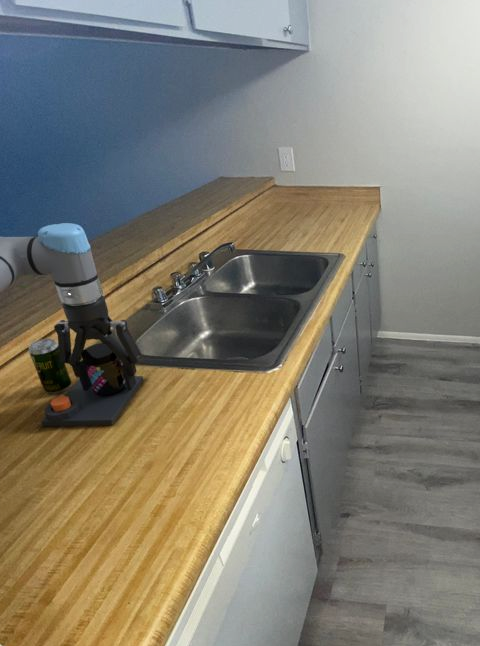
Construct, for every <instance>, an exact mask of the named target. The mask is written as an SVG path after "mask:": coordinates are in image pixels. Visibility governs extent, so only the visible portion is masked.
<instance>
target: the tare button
mask: <svg viewBox="0 0 480 646" xmlns="http://www.w3.org/2000/svg"><path fill="white" fill-rule="evenodd" d="M50 403H51V405H52V408H53V410H54V411H55V412H60V411H63V410H66V409H68V408H69V407H71V402H70V400H69V397H67V396H64V395H62V396H58V397H55V398H54V399H52V400H51V401H50Z"/></svg>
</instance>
